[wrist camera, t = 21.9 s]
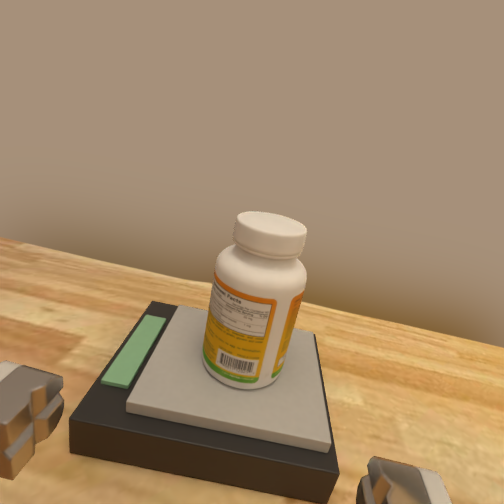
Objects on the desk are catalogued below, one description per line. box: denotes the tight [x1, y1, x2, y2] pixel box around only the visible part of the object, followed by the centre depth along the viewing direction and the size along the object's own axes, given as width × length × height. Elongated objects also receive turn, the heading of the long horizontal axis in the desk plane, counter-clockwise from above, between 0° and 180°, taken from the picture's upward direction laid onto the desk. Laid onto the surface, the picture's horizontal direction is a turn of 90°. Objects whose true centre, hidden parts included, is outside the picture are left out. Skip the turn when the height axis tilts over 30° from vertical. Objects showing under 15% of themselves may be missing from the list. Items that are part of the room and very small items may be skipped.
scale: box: [69, 301, 340, 504], centre depth 23 cm, size 14×12×3 cm
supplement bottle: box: [202, 211, 307, 389], centre depth 20 cm, size 5×5×10 cm
